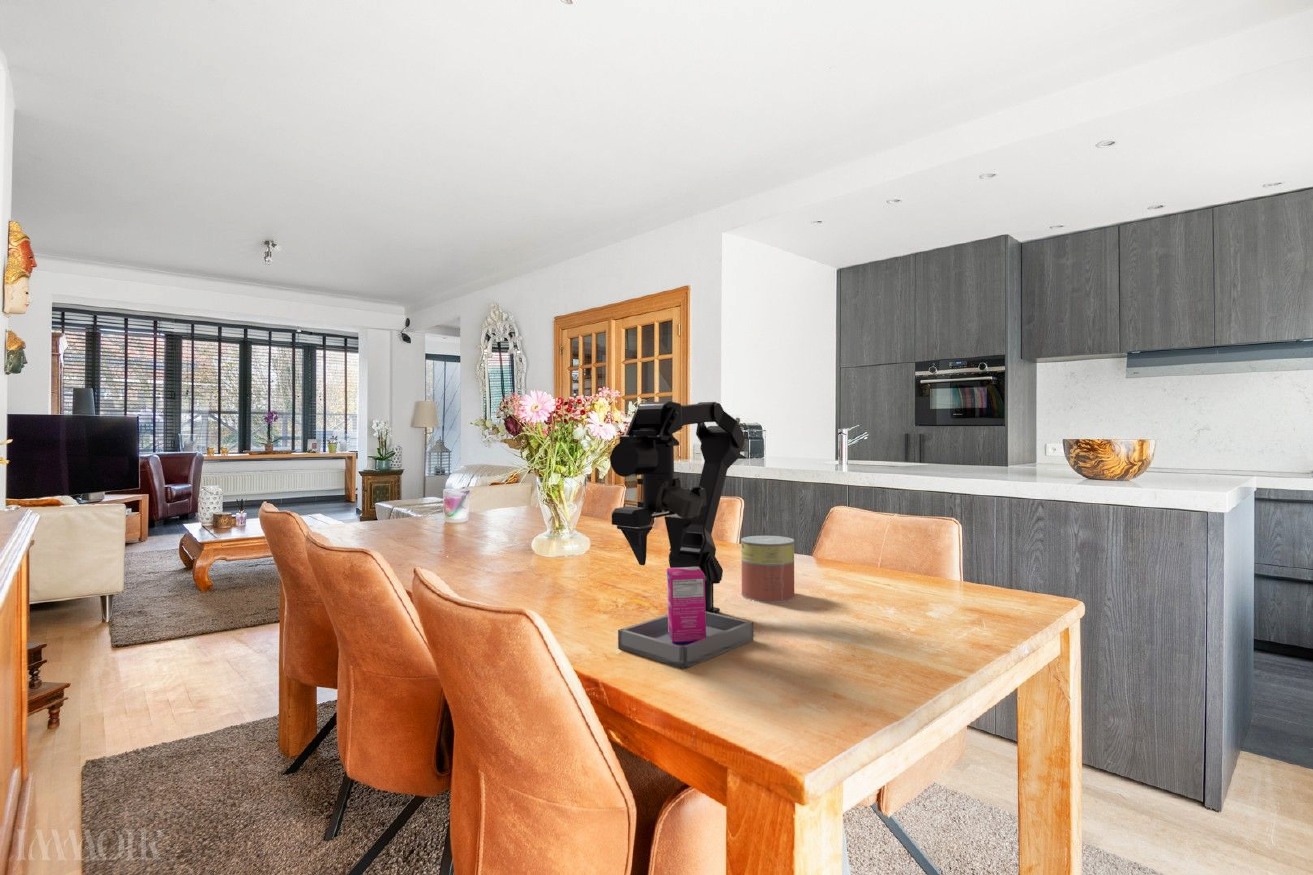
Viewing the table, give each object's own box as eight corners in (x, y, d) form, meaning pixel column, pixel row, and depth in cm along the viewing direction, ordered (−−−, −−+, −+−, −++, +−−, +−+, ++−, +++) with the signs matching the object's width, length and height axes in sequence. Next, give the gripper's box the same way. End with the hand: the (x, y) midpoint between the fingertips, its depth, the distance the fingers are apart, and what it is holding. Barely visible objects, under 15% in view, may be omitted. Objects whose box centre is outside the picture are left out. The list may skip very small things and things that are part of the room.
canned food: (756, 586, 148) (755, 533, 148) (803, 593, 142) (803, 538, 141) (731, 597, 139) (731, 540, 139) (780, 605, 132) (780, 545, 132)
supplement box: (666, 634, 111) (666, 566, 111) (701, 633, 112) (700, 566, 112) (670, 645, 105) (670, 574, 105) (707, 644, 106) (706, 573, 106)
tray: (689, 623, 120) (689, 607, 120) (753, 640, 110) (753, 622, 110) (618, 648, 107) (618, 629, 107) (683, 669, 97) (683, 648, 97)
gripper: (658, 478, 104) (660, 576, 104) (725, 470, 118) (727, 557, 118) (608, 475, 111) (610, 567, 111) (677, 468, 125) (678, 550, 126)
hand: (659, 560), depth 116 cm, fingers open, 9 cm apart
